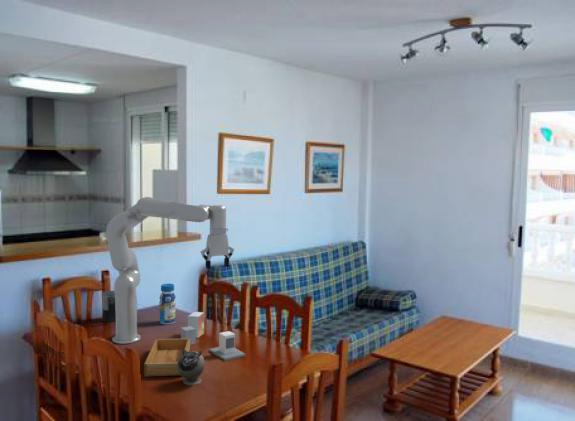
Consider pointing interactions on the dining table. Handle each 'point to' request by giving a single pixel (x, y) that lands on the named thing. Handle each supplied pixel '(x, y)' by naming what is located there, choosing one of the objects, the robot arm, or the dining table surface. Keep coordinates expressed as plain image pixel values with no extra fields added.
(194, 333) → the grey block
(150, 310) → the dining table surface
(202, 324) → the small box
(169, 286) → the beverage bottle
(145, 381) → the dining table surface
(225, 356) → the grey mat
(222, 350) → the label box
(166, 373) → the tray
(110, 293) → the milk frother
